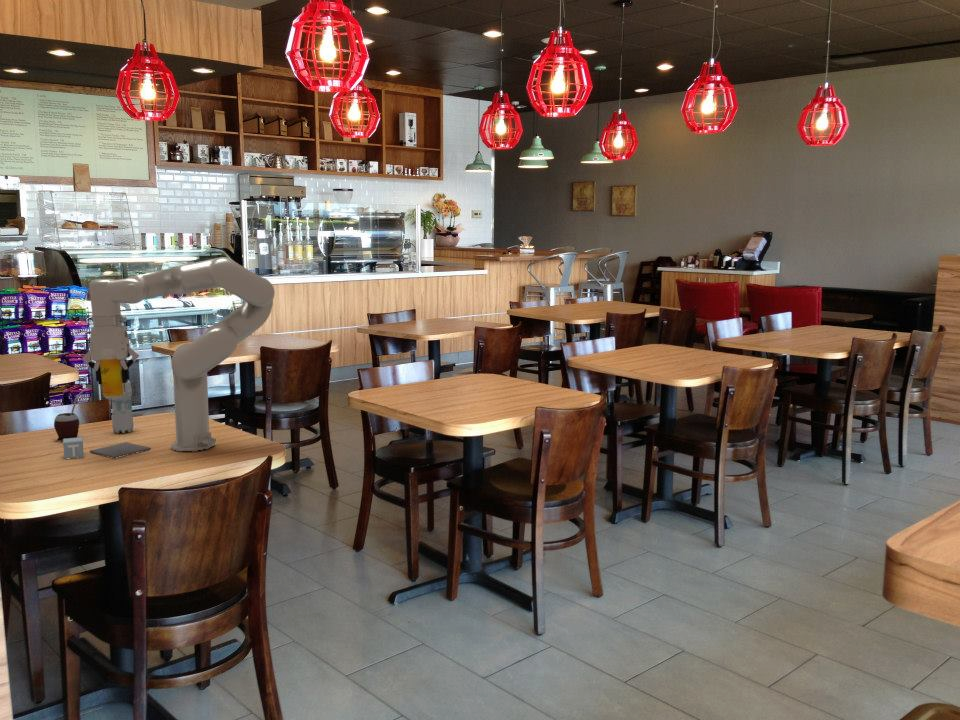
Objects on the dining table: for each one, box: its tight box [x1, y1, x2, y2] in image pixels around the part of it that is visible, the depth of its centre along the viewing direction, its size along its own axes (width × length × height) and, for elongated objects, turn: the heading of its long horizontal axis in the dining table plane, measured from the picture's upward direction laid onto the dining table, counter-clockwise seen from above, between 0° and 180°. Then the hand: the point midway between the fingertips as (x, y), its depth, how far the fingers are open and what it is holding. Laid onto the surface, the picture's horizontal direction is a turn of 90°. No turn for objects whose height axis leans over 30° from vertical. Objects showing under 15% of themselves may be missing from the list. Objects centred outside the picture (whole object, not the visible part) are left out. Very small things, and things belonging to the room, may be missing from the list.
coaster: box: [89, 441, 152, 459], centre depth 240 cm, size 12×12×1 cm
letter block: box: [62, 436, 85, 460], centre depth 234 cm, size 5×5×5 cm
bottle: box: [110, 379, 134, 434], centre depth 262 cm, size 7×7×20 cm
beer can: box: [100, 348, 126, 400], centre depth 235 cm, size 6×6×15 cm
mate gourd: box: [53, 390, 85, 443], centre depth 253 cm, size 8×8×15 cm
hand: (113, 382), depth 236 cm, fingers closed on beer can, 6 cm apart
